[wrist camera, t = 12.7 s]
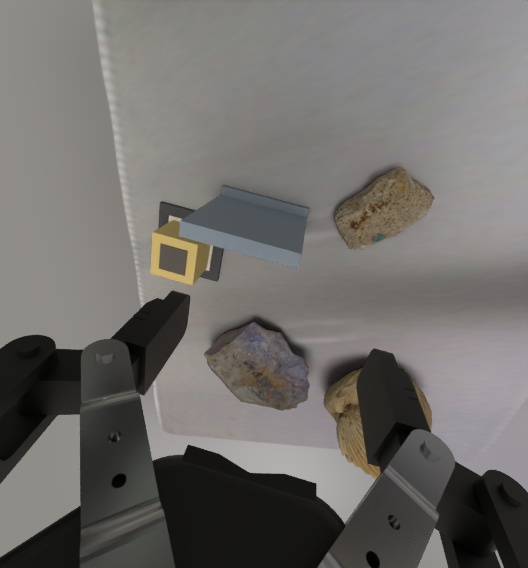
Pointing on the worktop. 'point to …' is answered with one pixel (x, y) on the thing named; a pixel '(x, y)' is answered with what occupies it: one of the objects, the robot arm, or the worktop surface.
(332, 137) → the worktop surface
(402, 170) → the rock
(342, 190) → the worktop surface
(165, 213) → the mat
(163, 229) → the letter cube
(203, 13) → the worktop surface
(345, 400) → the fossil
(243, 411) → the worktop surface
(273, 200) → the screen
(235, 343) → the stone
